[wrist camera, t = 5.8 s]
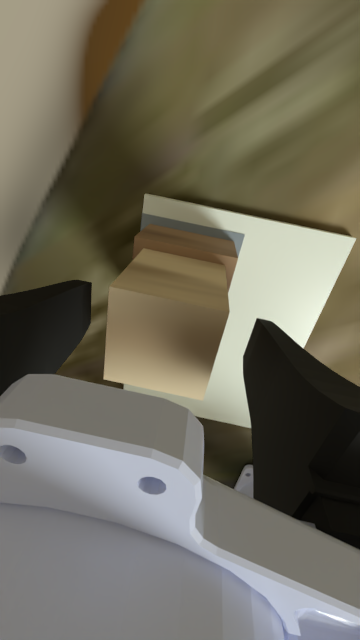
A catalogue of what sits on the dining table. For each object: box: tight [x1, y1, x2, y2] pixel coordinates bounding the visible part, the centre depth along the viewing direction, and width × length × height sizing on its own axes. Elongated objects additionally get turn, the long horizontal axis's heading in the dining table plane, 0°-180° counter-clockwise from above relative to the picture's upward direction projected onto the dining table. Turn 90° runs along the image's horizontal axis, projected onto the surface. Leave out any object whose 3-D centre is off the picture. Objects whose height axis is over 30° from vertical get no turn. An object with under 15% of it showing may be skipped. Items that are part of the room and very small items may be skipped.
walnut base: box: [132, 224, 238, 292], centre depth 16 cm, size 5×5×4 cm
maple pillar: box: [104, 248, 230, 401], centre depth 12 cm, size 4×4×5 cm
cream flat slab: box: [123, 194, 356, 428], centre depth 20 cm, size 16×12×1 cm
